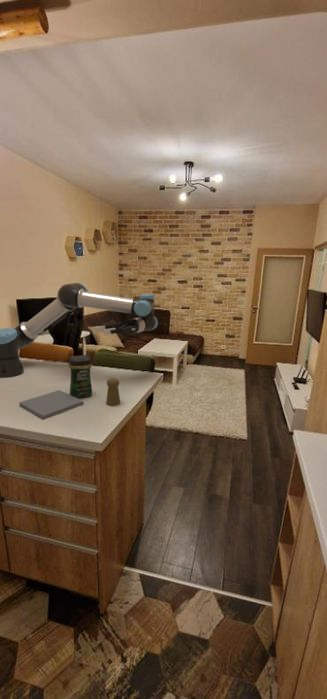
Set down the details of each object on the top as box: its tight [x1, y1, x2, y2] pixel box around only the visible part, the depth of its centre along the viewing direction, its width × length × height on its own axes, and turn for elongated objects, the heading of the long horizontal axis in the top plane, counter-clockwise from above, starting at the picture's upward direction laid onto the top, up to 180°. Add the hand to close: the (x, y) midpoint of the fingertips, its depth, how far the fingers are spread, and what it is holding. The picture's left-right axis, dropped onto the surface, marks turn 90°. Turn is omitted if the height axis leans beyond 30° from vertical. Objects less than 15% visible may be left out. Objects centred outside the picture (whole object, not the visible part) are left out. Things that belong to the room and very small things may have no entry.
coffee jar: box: [68, 354, 93, 399], centre depth 138 cm, size 10×8×19 cm
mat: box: [18, 389, 85, 420], centre depth 128 cm, size 18×18×2 cm
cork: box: [105, 377, 121, 407], centre depth 131 cm, size 6×6×11 cm
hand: (99, 331), depth 141 cm, fingers open, 7 cm apart
